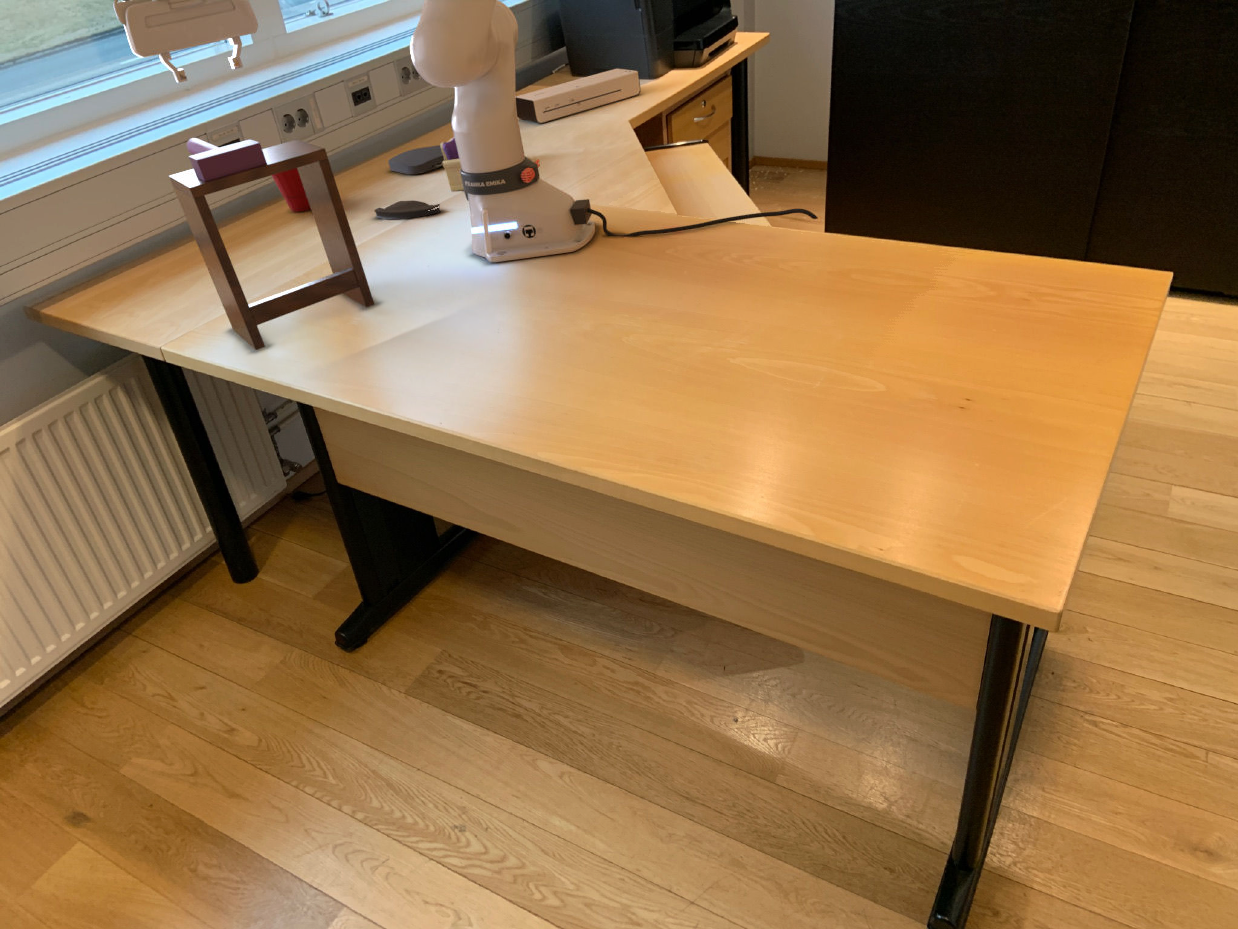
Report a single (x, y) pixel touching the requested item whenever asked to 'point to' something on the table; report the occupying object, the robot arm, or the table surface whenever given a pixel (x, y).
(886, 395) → the table surface
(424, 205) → the black flat piece
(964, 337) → the table surface
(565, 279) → the table surface
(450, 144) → the toy sofa
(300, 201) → the plastic cup
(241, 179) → the bench
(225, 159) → the toy hammer
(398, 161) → the media streaming box
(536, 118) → the laminator
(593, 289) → the table surface
